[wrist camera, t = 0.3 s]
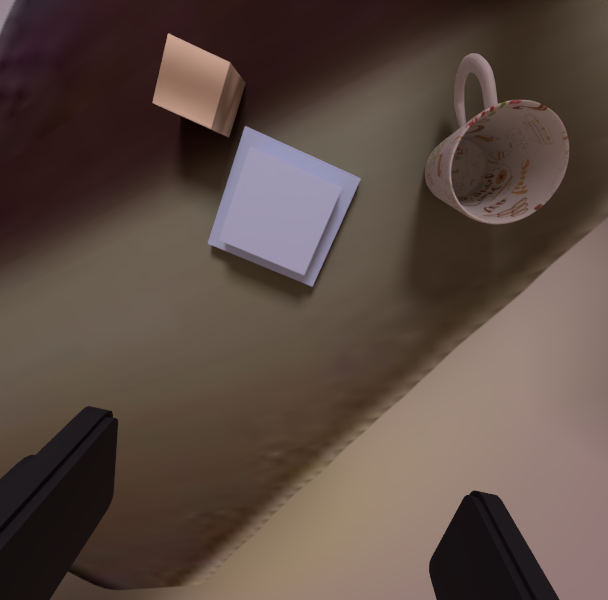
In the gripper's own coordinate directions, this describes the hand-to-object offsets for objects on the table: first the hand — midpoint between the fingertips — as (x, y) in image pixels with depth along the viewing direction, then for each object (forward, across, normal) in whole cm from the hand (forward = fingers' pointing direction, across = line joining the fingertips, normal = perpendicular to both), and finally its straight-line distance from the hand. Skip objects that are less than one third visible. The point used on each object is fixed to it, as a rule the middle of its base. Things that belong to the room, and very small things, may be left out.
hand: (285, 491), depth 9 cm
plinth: (+30, +4, -4) cm, 30 cm away
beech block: (+30, +13, -13) cm, 35 cm away
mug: (+30, -11, -14) cm, 35 cm away
